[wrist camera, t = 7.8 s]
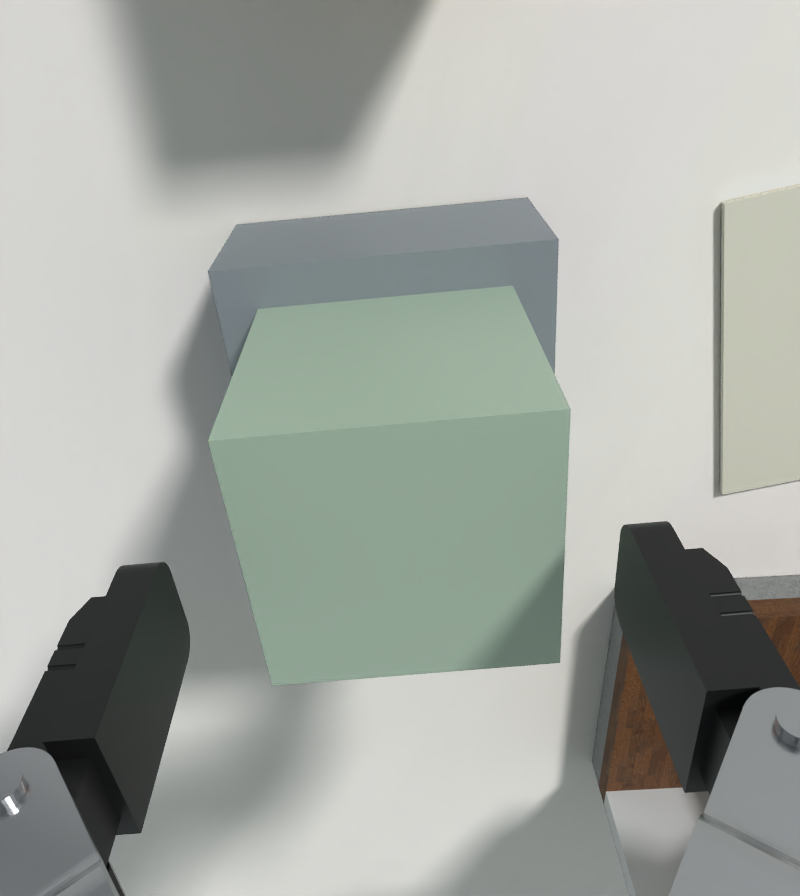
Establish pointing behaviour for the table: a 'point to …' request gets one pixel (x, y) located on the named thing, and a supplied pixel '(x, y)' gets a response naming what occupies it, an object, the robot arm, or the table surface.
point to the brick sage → (397, 486)
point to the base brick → (387, 262)
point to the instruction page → (760, 340)
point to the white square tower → (646, 755)
